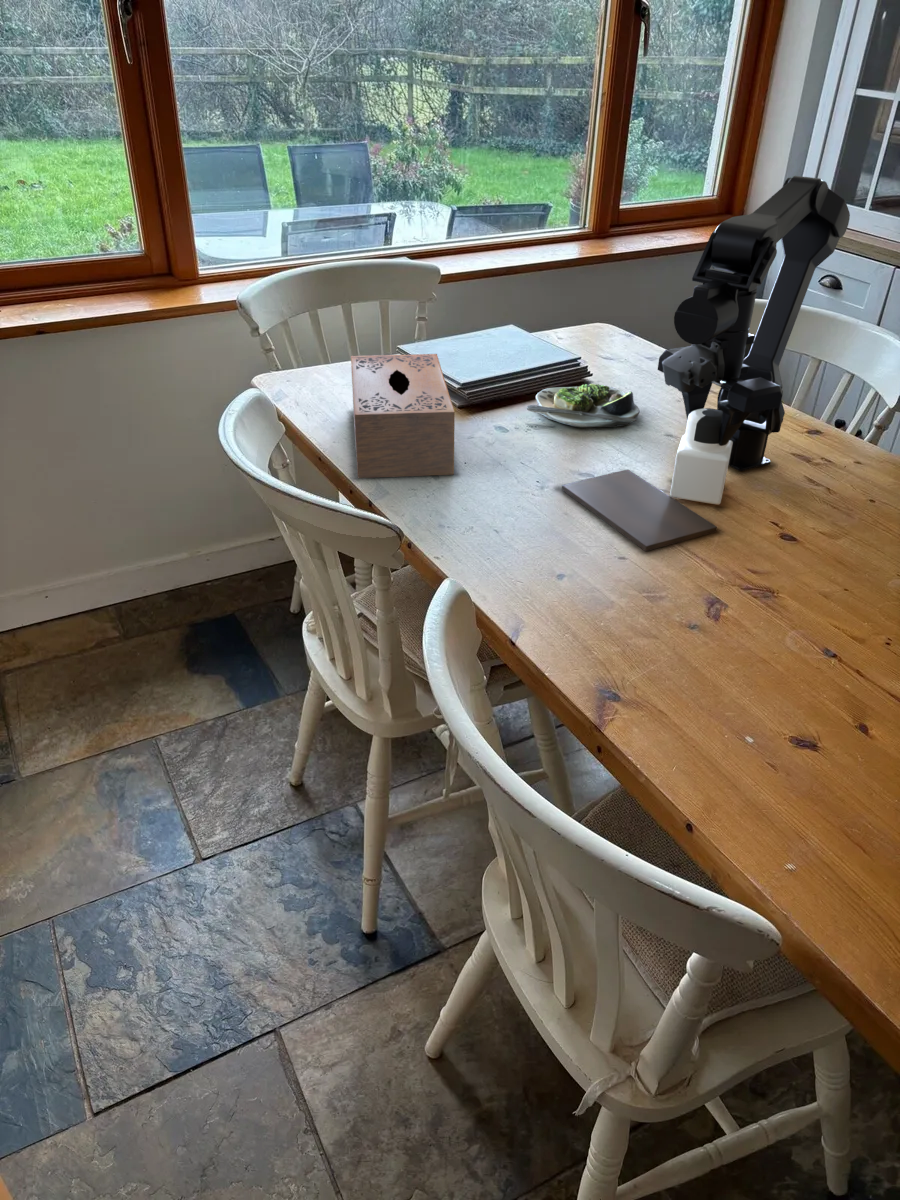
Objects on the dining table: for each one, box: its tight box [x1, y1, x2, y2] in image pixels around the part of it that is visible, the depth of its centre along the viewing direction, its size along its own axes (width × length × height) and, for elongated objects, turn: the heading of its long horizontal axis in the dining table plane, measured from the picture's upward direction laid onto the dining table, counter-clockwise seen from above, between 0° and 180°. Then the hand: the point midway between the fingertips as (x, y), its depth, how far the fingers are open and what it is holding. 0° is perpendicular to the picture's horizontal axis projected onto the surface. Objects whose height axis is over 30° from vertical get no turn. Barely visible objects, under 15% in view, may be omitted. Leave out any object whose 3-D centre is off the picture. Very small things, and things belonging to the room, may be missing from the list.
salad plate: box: [526, 383, 640, 428], centre depth 157 cm, size 19×18×5 cm
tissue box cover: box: [350, 353, 456, 479], centre depth 144 cm, size 26×14×10 cm, turn 6°
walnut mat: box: [561, 469, 718, 552], centre depth 128 cm, size 12×20×1 cm, turn 27°
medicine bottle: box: [669, 407, 733, 506], centre depth 129 cm, size 7×7×12 cm
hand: (706, 436), depth 127 cm, fingers closed on medicine bottle, 6 cm apart
